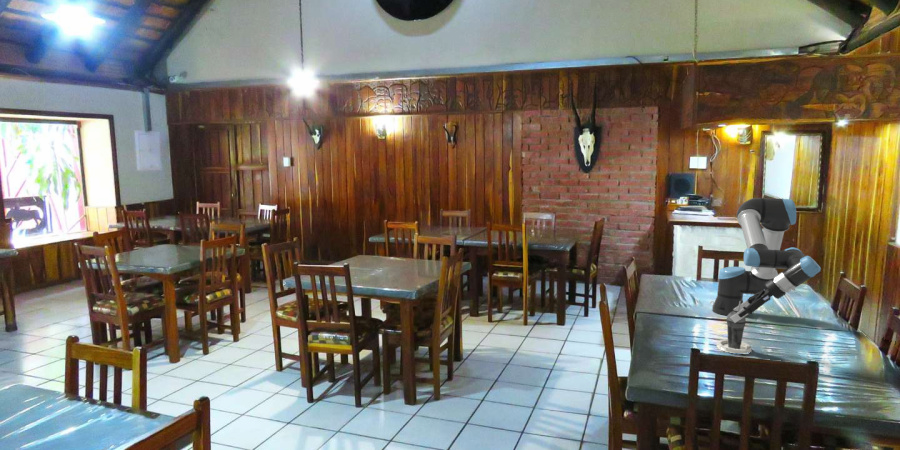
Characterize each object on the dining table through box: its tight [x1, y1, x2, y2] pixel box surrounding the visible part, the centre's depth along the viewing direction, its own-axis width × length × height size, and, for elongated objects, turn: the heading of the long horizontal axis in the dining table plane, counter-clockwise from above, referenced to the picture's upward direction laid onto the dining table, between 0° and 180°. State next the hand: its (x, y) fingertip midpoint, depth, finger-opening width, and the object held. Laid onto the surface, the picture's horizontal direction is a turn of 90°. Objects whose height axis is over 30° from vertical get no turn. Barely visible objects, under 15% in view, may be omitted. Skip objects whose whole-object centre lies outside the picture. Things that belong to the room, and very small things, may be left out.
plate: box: [716, 339, 753, 353], centre depth 232 cm, size 13×13×2 cm
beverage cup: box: [726, 301, 747, 349], centre depth 230 cm, size 7×7×20 cm
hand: (734, 316), depth 230 cm, fingers open, 13 cm apart
